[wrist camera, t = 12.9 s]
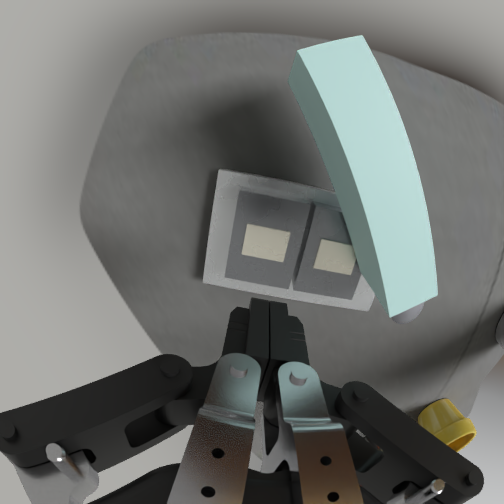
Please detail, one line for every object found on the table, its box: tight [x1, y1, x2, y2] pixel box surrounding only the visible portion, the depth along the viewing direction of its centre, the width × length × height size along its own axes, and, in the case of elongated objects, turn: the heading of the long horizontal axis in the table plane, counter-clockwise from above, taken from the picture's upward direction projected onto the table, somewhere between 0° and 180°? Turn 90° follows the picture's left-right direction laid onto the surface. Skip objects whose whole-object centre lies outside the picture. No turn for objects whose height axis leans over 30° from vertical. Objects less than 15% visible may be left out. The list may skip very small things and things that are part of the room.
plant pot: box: [418, 399, 476, 452], centre depth 29 cm, size 10×10×10 cm
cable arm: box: [288, 35, 438, 324], centre depth 15 cm, size 17×4×6 cm, turn 24°
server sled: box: [203, 168, 375, 311], centre depth 22 cm, size 16×10×4 cm, turn 79°
